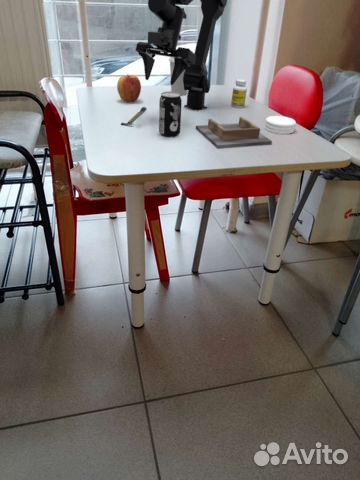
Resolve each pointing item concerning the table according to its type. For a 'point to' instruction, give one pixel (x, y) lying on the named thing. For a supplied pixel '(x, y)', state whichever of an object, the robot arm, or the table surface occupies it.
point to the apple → (129, 88)
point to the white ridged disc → (280, 124)
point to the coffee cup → (178, 84)
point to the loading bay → (233, 134)
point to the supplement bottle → (239, 94)
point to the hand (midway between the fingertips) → (158, 82)
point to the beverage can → (170, 114)
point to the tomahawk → (134, 117)
